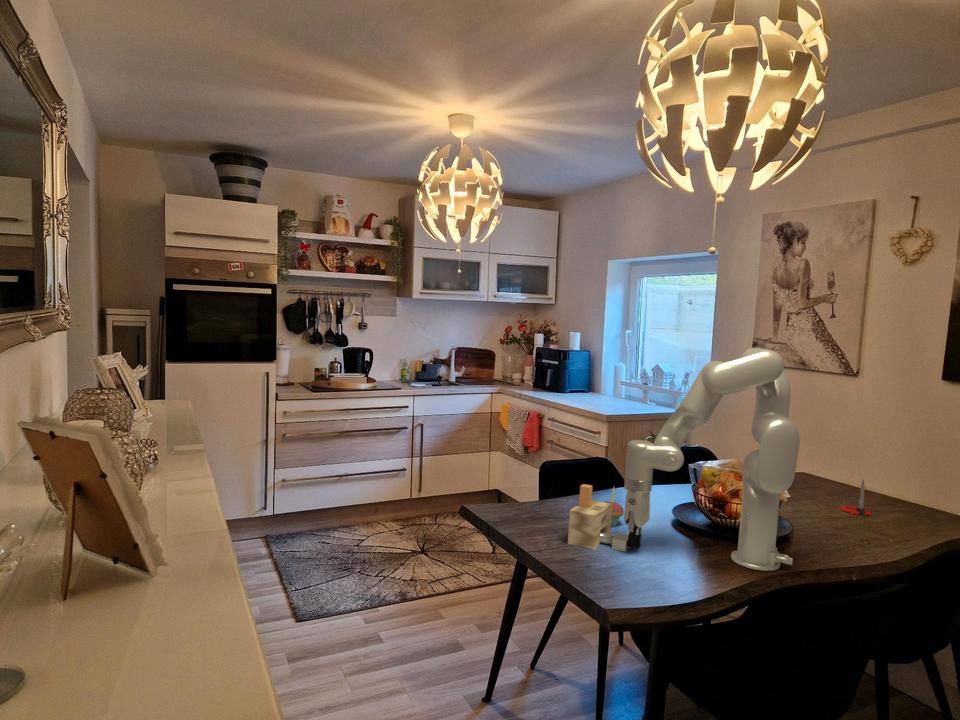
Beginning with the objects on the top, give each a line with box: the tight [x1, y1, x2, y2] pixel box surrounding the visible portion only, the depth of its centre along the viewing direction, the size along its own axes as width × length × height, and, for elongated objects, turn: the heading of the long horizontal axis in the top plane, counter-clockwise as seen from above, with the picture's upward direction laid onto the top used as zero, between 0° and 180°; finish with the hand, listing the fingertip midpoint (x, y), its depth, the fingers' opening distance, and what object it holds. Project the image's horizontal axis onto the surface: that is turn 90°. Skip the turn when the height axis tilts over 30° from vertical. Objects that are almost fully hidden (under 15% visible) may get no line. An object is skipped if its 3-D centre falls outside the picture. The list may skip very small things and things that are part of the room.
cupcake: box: [604, 486, 625, 527], centre depth 202 cm, size 9×8×12 cm
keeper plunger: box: [578, 483, 594, 508], centre depth 187 cm, size 3×3×7 cm
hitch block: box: [567, 499, 612, 551], centre depth 186 cm, size 8×14×10 cm, turn 149°
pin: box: [600, 532, 631, 553], centre depth 185 cm, size 18×6×3 cm, turn 60°
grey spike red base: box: [839, 479, 872, 517], centre depth 230 cm, size 8×13×9 cm
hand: (634, 546), depth 180 cm, fingers closed
